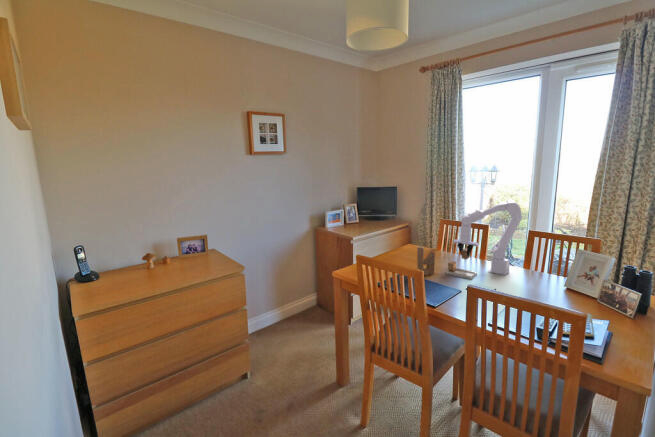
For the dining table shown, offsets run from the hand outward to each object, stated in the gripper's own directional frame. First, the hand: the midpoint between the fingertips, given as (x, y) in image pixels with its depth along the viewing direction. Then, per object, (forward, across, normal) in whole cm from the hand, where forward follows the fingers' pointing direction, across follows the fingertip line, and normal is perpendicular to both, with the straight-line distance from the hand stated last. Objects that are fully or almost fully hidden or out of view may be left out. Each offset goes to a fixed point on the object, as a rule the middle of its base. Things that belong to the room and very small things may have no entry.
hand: (465, 255), depth 193 cm
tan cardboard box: (+2, 0, 0) cm, 2 cm away
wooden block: (+9, +15, +23) cm, 29 cm away
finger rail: (+9, -2, +10) cm, 14 cm away
